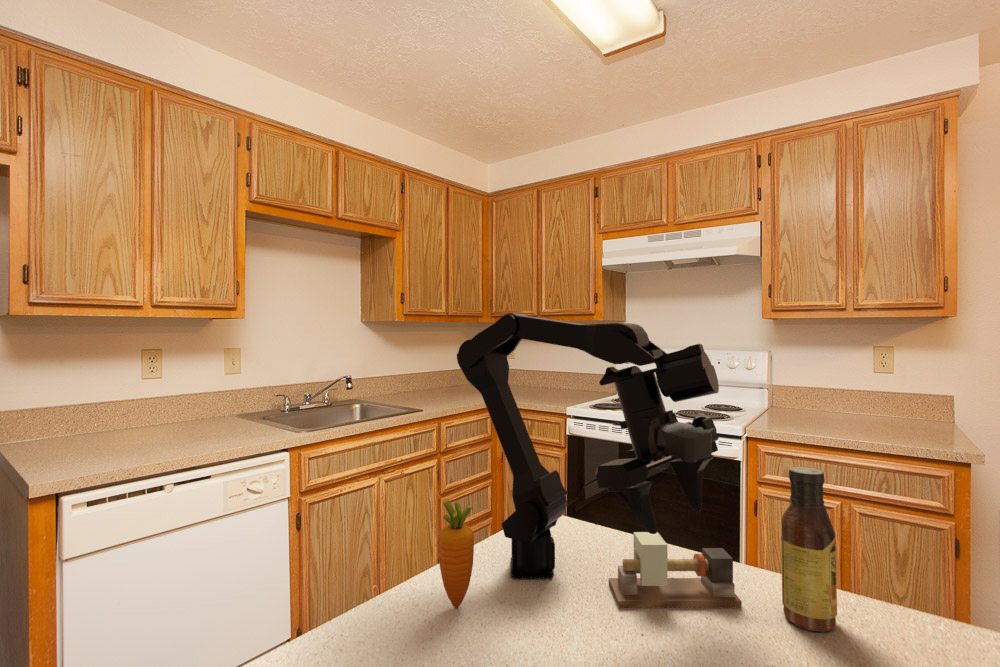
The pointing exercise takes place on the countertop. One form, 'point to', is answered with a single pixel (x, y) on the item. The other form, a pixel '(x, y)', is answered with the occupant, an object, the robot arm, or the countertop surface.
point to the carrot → (456, 553)
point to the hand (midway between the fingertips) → (676, 521)
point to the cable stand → (680, 584)
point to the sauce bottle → (808, 554)
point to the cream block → (651, 558)
